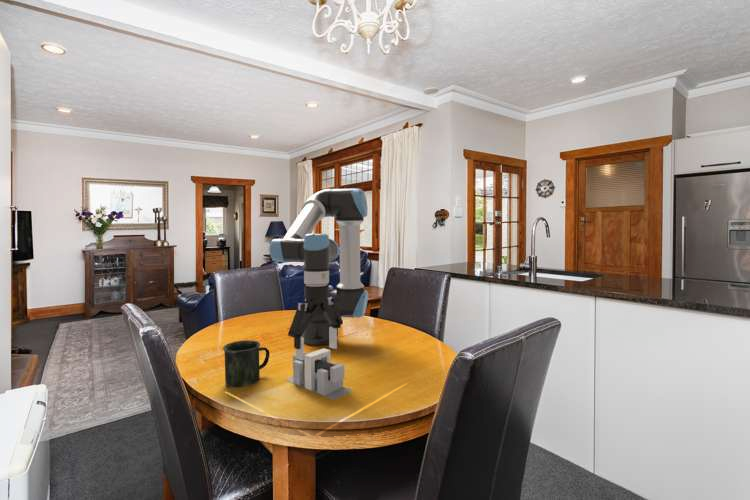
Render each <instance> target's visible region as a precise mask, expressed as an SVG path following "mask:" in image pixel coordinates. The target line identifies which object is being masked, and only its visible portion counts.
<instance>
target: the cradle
mask: <svg viewBox="0 0 750 500" xmlns="http://www.w3.org/2000/svg"><path fill="white" fill-rule="evenodd" d="M332 364H335V365H338V364H340V363H339V362H333V363H332ZM292 371H293V372H292V373H293V374H292V377H290V378H287V379H285V381H286V382H288V383H290V384H294V385H296V386H298V387H300V388H301V387H302V388H303V389H305V390H307V389H306V388H305V369H304V368H303V362H302V361H299V360H296V361H293V360H292ZM309 391H311V390H309ZM353 391H354V390H353V389H350V388H348V387H344V379H342V380H340V381H337V382H335V383H334V382H331V381H330V378H329V377H328V370H325V369H322V368H321V369H318V370H317V373H315V389H314V390H312V391H311V392H313V393H315V394H318V395H321V396H323V397H326V398H327V399H329V400H333V401H335V400H337V399H340V398H341V397H344V396H345V395H347V394H349V393H351V392H353Z"/></svg>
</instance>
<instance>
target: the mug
mask: <svg viewBox="0 0 750 500" xmlns="http://www.w3.org/2000/svg"><path fill="white" fill-rule="evenodd" d="M222 350H223V351H224V378H225V380H224V381H225V385H226V386H227V387H228V388H230V387H231V388H243V387H248V386H252V385H254V384H256V383H258V382H259V380H260V375H261V374H260V371H261V370H262V369H264V368H265V367H266V366H267V364H268V362H269V359H270V351H269V349H268V348H267V347H265V346H264V347H262V346H261V342H259V341H256V340H252V339H251V340H250V339H247V340H238V341H233V342H230V343H226V344H225V345H224V346H223V347H222ZM260 351H265V357H264V360H263V362H262V363H261V364H260Z"/></svg>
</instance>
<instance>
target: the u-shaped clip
mask: <svg viewBox="0 0 750 500" xmlns="http://www.w3.org/2000/svg"><path fill="white" fill-rule="evenodd" d="M318 359H319V360H322V361H325V362H328V363H331V349H327V348H320V349H318V350H314V351H312V352H309V353H306V355H304V367H305V388H306V389H305V388H304V389H305V390H308V391H310V390H311V392H313V391H312V390H314V389H315V360H318Z"/></svg>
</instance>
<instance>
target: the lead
mask: <svg viewBox="0 0 750 500" xmlns="http://www.w3.org/2000/svg"><path fill="white" fill-rule="evenodd" d="M306 354H307V352H305V351H304V355H306ZM296 360H299V359H296V353H294V354H292V362H293V361H296ZM299 361H302V362H303V368H304V369H305V367H304V360H299ZM321 368H322V369H325V370H328V377H329V378H330V381H331V382H334V383H335V382H337V381H340V380H342V379H343V380H345V378H346V377H345V375H346V374H345V364H343V363H339V364H338V365H335V364H333V363H331V362H330V363H328V362H325V361H322V360H321V359H318V360H315V373H317V370H318V369H321Z"/></svg>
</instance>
